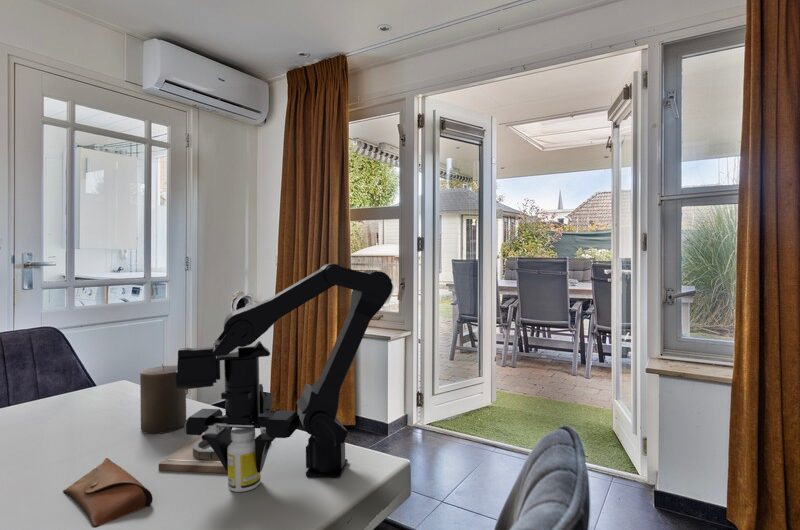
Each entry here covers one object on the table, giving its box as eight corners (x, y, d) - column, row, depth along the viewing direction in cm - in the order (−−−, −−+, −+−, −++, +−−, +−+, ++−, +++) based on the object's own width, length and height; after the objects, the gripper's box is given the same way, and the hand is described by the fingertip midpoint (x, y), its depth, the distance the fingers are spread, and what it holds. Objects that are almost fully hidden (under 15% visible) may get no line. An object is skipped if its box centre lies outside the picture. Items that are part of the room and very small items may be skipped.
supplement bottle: (265, 478, 82) (264, 424, 82) (252, 493, 77) (251, 436, 77) (236, 477, 83) (235, 423, 83) (222, 492, 78) (221, 435, 77)
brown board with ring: (269, 442, 98) (268, 430, 98) (238, 473, 84) (238, 459, 84) (199, 439, 100) (199, 427, 100) (158, 469, 86) (158, 455, 86)
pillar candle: (173, 434, 104) (172, 368, 103) (131, 434, 104) (130, 368, 104) (194, 419, 113) (193, 359, 113) (155, 419, 113) (154, 359, 113)
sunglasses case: (57, 490, 79) (79, 451, 81) (98, 496, 84) (117, 459, 86) (94, 529, 68) (118, 481, 70) (138, 533, 72) (160, 489, 75)
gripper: (308, 371, 87) (310, 452, 87) (215, 370, 89) (217, 449, 89) (287, 389, 76) (289, 481, 76) (181, 386, 78) (184, 477, 78)
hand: (244, 470), depth 80 cm, fingers closed on supplement bottle, 5 cm apart
